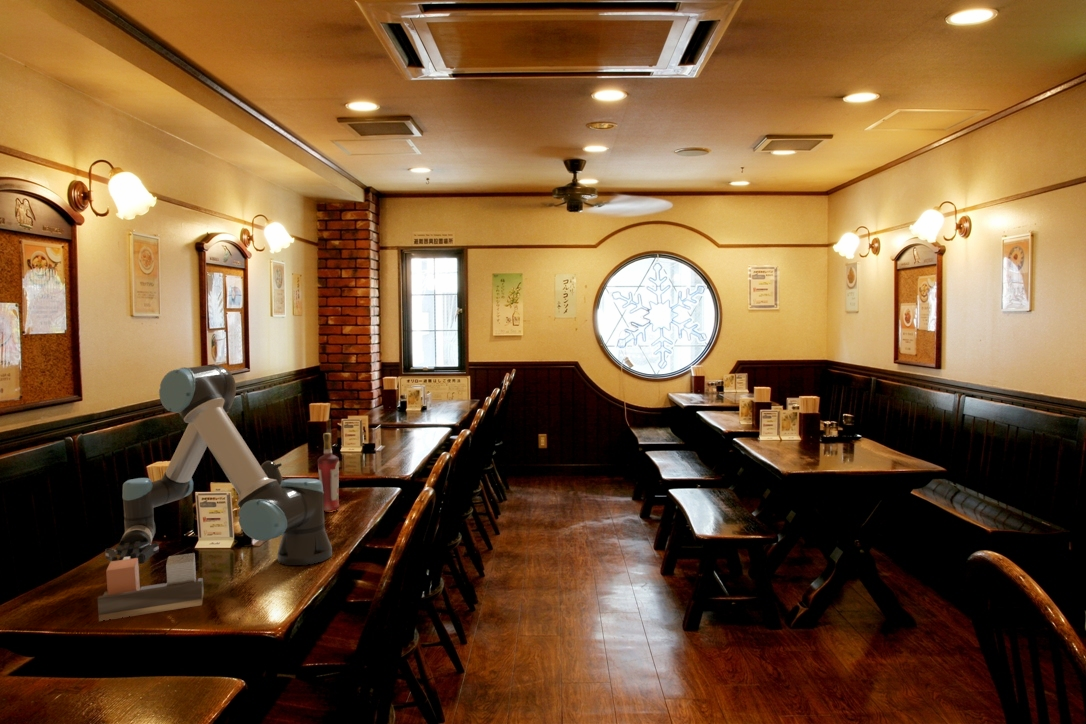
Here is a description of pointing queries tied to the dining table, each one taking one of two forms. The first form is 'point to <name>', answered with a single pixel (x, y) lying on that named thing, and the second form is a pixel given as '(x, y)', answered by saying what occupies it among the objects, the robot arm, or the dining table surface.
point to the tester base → (150, 600)
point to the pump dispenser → (272, 470)
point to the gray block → (181, 569)
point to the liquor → (329, 475)
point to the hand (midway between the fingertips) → (124, 569)
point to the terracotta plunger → (123, 576)
